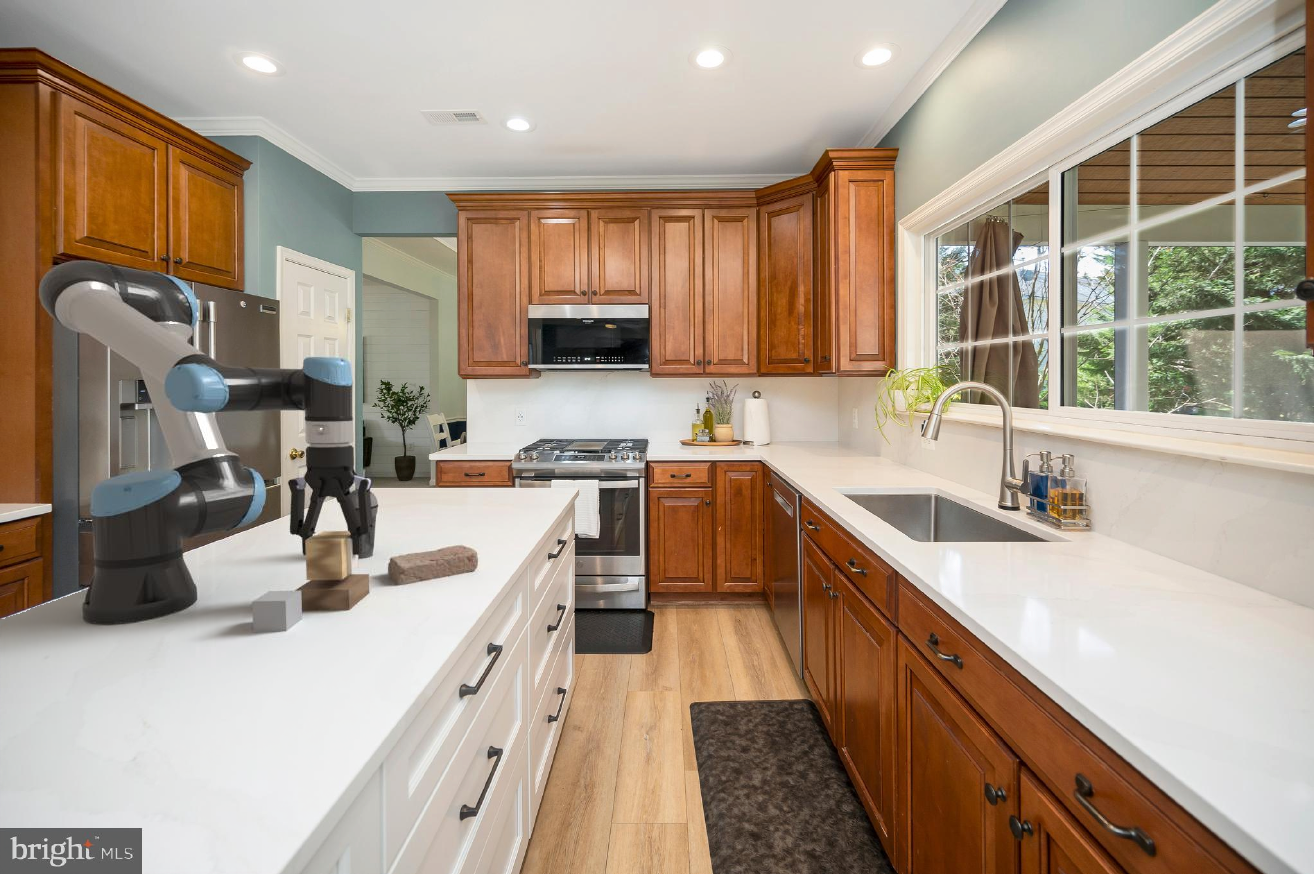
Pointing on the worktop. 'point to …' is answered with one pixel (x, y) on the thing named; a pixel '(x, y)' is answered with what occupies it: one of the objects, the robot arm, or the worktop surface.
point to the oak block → (327, 556)
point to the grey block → (277, 611)
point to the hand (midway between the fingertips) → (333, 572)
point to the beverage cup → (369, 537)
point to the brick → (432, 564)
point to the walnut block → (334, 593)
